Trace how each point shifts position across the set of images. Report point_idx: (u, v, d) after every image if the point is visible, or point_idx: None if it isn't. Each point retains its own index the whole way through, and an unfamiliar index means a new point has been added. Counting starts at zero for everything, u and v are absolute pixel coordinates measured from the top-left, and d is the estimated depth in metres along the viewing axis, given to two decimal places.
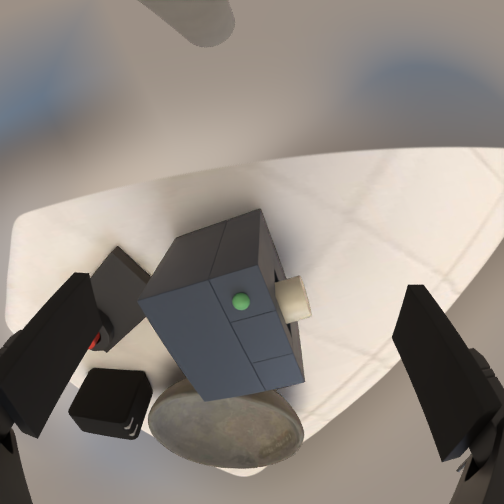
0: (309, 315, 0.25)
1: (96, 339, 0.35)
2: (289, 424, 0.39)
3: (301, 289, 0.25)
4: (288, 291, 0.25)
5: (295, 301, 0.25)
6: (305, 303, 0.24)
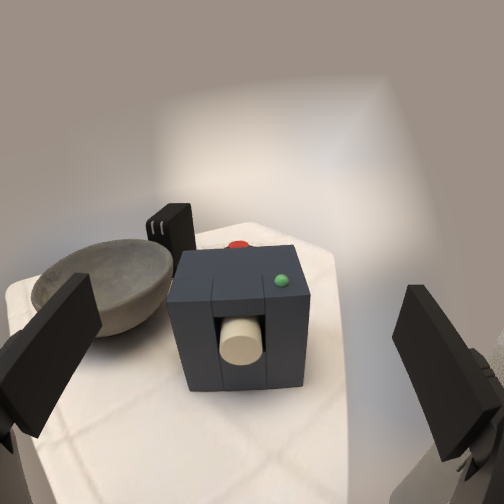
0: (228, 337, 0.25)
1: None
2: None
3: (257, 340, 0.26)
4: (258, 333, 0.26)
5: (250, 330, 0.26)
6: (245, 335, 0.25)
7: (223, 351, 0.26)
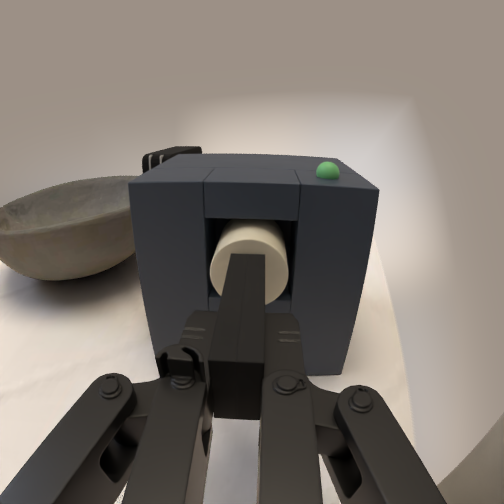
0: (228, 243, 0.14)
1: None
2: None
3: (281, 254, 0.14)
4: (282, 247, 0.15)
5: (269, 237, 0.15)
6: (260, 239, 0.14)
7: (216, 273, 0.15)
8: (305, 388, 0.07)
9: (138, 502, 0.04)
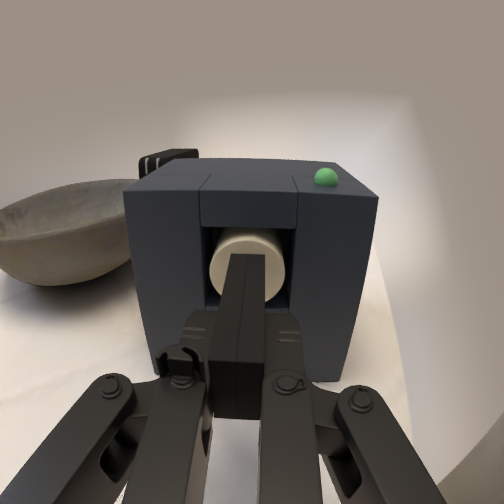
0: (227, 243, 0.15)
1: None
2: None
3: (278, 254, 0.15)
4: (279, 247, 0.16)
5: (266, 237, 0.15)
6: (258, 240, 0.15)
7: (216, 272, 0.15)
8: (305, 388, 0.07)
9: (138, 502, 0.04)
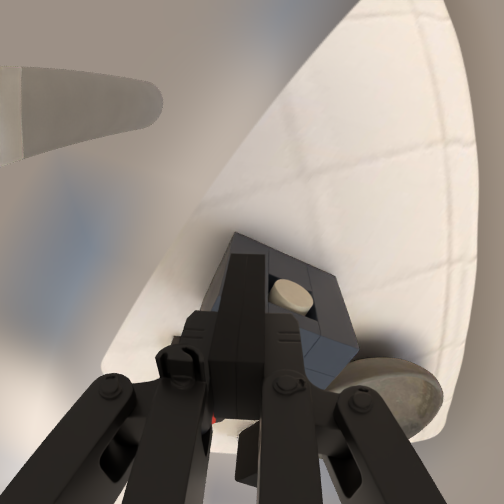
0: (305, 308, 0.25)
1: (213, 413, 0.39)
2: None
3: (279, 294, 0.25)
4: (272, 302, 0.25)
5: None
6: (290, 303, 0.25)
7: (310, 299, 0.26)
8: (305, 388, 0.07)
9: (138, 502, 0.04)
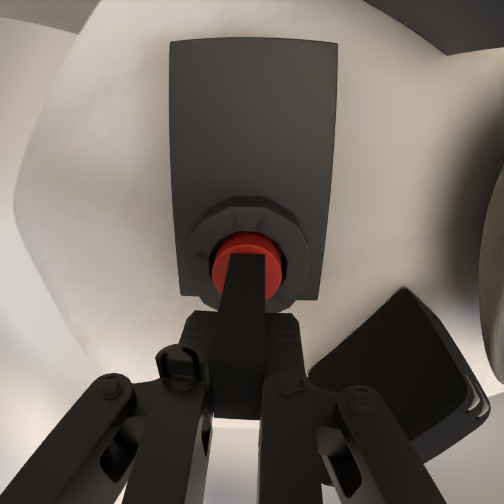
0: None
1: (274, 253, 0.15)
2: None
3: None
4: None
5: None
6: None
7: None
8: (305, 388, 0.07)
9: (138, 502, 0.04)
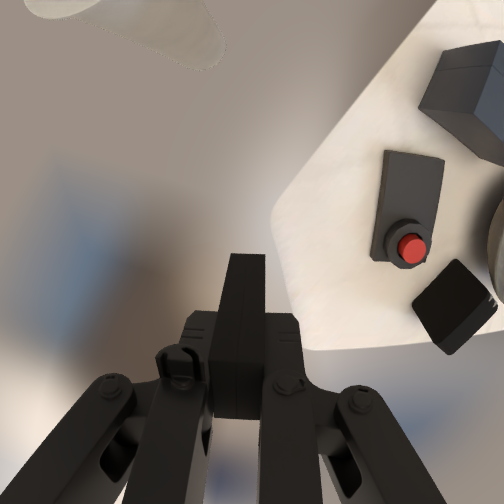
0: None
1: None
2: None
3: None
4: None
5: None
6: None
7: None
8: (305, 388, 0.07)
9: (138, 502, 0.04)
